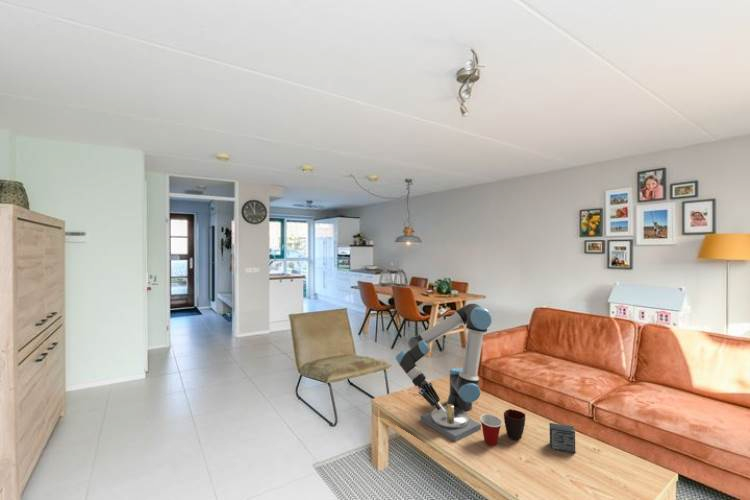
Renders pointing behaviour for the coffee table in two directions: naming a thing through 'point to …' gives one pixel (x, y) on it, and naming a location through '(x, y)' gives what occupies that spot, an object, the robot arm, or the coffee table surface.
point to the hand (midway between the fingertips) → (444, 414)
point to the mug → (514, 423)
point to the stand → (452, 433)
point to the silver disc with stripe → (450, 417)
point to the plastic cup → (490, 428)
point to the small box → (562, 437)
